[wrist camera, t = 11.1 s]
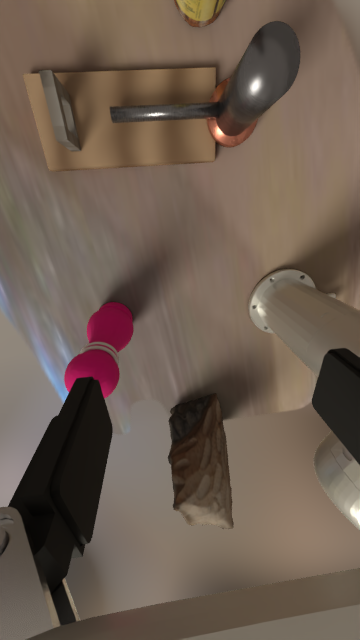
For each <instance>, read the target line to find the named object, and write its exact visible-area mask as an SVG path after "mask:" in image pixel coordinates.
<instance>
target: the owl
mask: <svg viewBox="0 0 360 640" xmlns="http://www.w3.org/2000/svg"><path fill="white" fill-rule="evenodd" d="M170 413H171V414H172V416H171V417H170V419H169V425H170V431H171V439H172V445H171V450H170V453H169V456H168V460H169V463H170V464H171V469H172V481H173V490H174V504H173V508H174V510H176V511H180V512H181V514H182V516H183V518H184V519H185V520H186V522H187V524H189V525H195V524H202V525H207V524H212V525H218V526H219V527H221V528H223V529H224V528H226V529H232V528H233V519H232V497H231V487H230V476H229V466H228V454H227V445H226V436H225V432H224V427H223V418H222V411H221V409H220V404H219V401H218V398H217V394H216V393H215V394H213V395H209V396H206V397H203V398H199V399H197V400H194V401H189V402H187V403H185V404H179V405H176V406H175V407H173V408H172V409H171V411H170Z"/></svg>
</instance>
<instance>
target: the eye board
mask: <svg viewBox="0 0 360 640" xmlns="http://www.w3.org/2000/svg"><path fill="white" fill-rule="evenodd" d="M23 77H24V81H25V85H26V88H27V92H28V96H29V99H30V103H31V107H32V110H33V114H34V117H35V121H36V125H37V128H38V132H39V136H40V139H41V143H42V146H43V150H44V154H45V157H46V161H47V165H48V168H49V170H50V171H53V172H54V171H70V170H87V169H104V168H121V167H137V166H154V165H171V164H187V163H204V162H214V161H215V140H214V139H213V138H212V136H211V135H210V133H209V130H208V127H207V120H206V119H189V120H169V121H148V122H127V123H112V120H111V115H110V107H111V106H134V105H157V104H179V103H202V102H209V101H210V98H211V96H212V94H213V92H214V91H215V89H216V67H212V68H183V69H154V70H126V71H97V72H68V73H53V72H52V70H41V71H39V74H23Z"/></svg>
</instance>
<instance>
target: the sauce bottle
mask: <svg viewBox="0 0 360 640" xmlns="http://www.w3.org/2000/svg"><path fill="white" fill-rule="evenodd" d="M174 1H175V5H176V7H177V9H178V10H179V12H180V14H181V16H182V17H183V18H184V19H185V21H186V22H188V23H189V25H191V26H193V27H202V26H206V25H208V24H210V23H212V22H213V21H214V20H215V19H216V18H217V17H218V15H219V13H220V11H221V9H222V6H223V4H224V2H225V1H226V0H174Z"/></svg>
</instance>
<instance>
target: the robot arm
mask: <svg viewBox="0 0 360 640" xmlns="http://www.w3.org/2000/svg"><path fill="white" fill-rule="evenodd" d="M248 310H249V315H250V318H251V320H252V322H253V323H254V324H255V325H256V326H257V327H258V328H259V329H261V330H262V331H265V332H268V333H275V334H276V335H277V336H278V337H279V338H280V339H281V340H282V341H283V342H284V343H285V344H286V345H287V346H288V347H289V348H290V349H291V350H292V351H293V352H294V353H295V354H296V355H297V356H298V357H299V359H300V360H301V361H302V362H303V363H304V364H305V365H306V366H307V367H308V368H309V369H310V370H311V371H312V372H313V373H314V374H315V375H316V376H317V377H318V380H317V383H316V387H315V390H314V394H313V398H312V404H313V407H314V409H315V410H316V411H317V413H318V414H319V415H320V416H321V417H322V419H323V420H324V421H325V423H326V424H327V425H328V426H329V427H330V429H331V430H332V431H331V432H330V433H329V434H328V435H327V436H326V437H325V439H324V440H323V441H322V442H321V443H320V444H319V446H318V448H317V450H316V452H315V455H314V469H315V473H316V475H317V478H318V480H319V482H320V484H321V486H322V488H323V489H324V491H325V492H326V494H327V495H328V497H329V498H330V499H331V501H332V502H333V503H334V504H335V505H336V507H337V508H338V509H339V510H340V511H341V512H342V514H343V515H344V516H345V517H346V518H347V519H348V520H349V521H350V522H351V523H353V525H355V526H356V527H357V528H358V529H359V530H360V310H358V309H356V308H354V307H352V306H350V305H348V304H345V303H343V302H341V301H339V300H337V299H336V295H335V293H326V294H325V293H323V292H321V291H319V290H317V289H316V287H315V284H314V282H313V280H312V279H311V278H310V277H309V276H308V275H307V274H305V273H303V272H301V271H298V270H296V269H282V270H279V271H275V272H273V273H271V274H269V275H268V276H266V277H265V278H263V279H262V280H261V281H260V282H259V283H258V285H257V286H256V287H255V288H254V290H253V292H252V294H251V296H250V300H249V305H248ZM111 438H112V423H111V420H110V417H109V413H108V410H107V406H106V403H105V400H104V396H103V393H102V390H101V386H100V383H99V380H94V378H93V377H92V376H91V377H82V378H77V379H76V380H75V382H74V384H73V386H72V388H71V390H70V392H69V394H68V396H67V398H66V400H65V403H64V405H63V407H62V409H61V411H60V413H59V415H58V416H55V417H54V418H53V419H52V420H51V422H50V424H49V426H48V428H47V430H46V432H45V434H44V436H43V438H42V440H41V442H40V444H39V446H38V448H37V450H36V452H35V454H34V456H33V458H32V460H31V462H30V464H29V466H28V468H27V470H26V472H25V474H24V476H23V478H22V479H21V481H20V484H19V485H18V487H17V489H16V491H15V493H14V496H13V498H12V500H11V501H10V503H9V506H8V507H1V508H0V640H360V568H358V569H352V570H346V571H340V572H335V573H329V574H323V575H317V576H312V577H306V578H301V579H295V580H289V581H284V582H278V583H272V584H266V585H260V586H255V587H249V588H244V589H238V590H233V591H227V592H222V593H217V594H211V595H205V596H199V597H194V598H188V599H183V600H177V601H172V602H166V603H161V604H156V605H151V606H146V607H141V608H136V609H131V610H127V611H121V612H117V613H112V614H107V615H102V616H97V617H92V618H89V619H85V620H81V621H80V618H79V616H78V613H77V610H76V608H75V605H74V602H73V599H72V597H71V594H70V592H69V588H68V586H67V584H66V581H65V576H66V575H67V573H68V569H69V565H70V561H71V558H76V557H82V556H83V552H84V548H85V544H87V543H90V541H91V538H92V535H93V530H94V524H95V519H96V514H97V509H98V504H99V498H100V494H101V489H102V484H103V479H104V474H105V469H106V464H107V458H108V454H109V448H110V443H111Z"/></svg>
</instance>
